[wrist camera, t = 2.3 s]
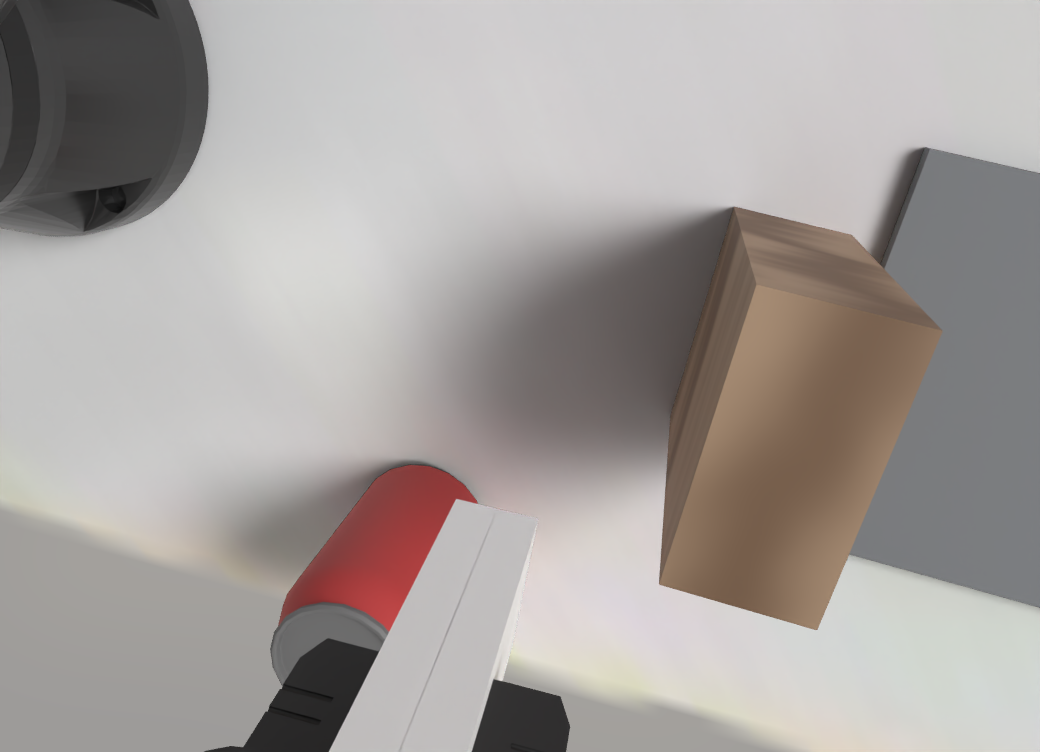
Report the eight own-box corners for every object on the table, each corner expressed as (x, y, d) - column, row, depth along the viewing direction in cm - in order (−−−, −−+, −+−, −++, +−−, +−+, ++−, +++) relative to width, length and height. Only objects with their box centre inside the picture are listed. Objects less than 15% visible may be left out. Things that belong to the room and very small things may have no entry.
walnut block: (670, 416, 40) (658, 584, 27) (733, 206, 36) (756, 284, 23) (780, 445, 39) (823, 632, 26) (856, 236, 35) (950, 333, 22)
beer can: (341, 509, 45) (225, 654, 34) (420, 434, 42) (325, 563, 31) (430, 593, 46) (345, 761, 35) (513, 524, 43) (451, 681, 32)
